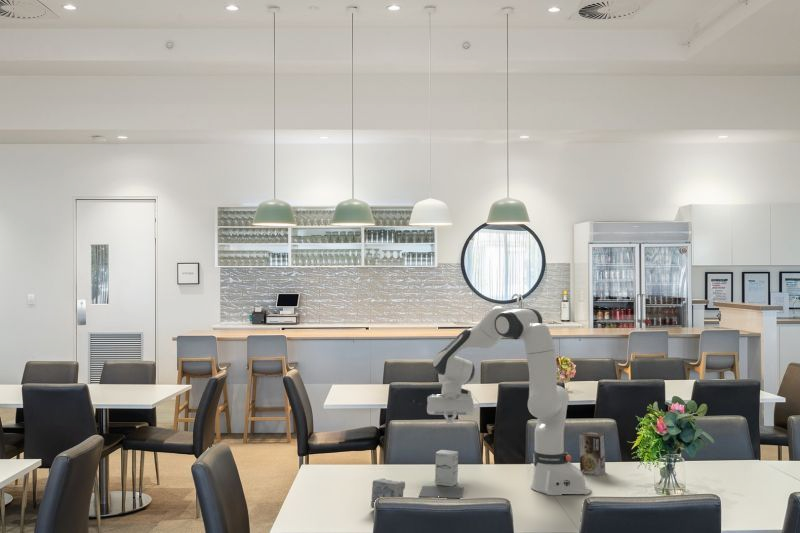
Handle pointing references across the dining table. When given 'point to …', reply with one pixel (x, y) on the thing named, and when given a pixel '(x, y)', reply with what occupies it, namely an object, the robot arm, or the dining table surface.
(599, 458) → the coffee box
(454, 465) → the supplement box
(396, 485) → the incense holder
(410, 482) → the dining table surface
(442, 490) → the mat
